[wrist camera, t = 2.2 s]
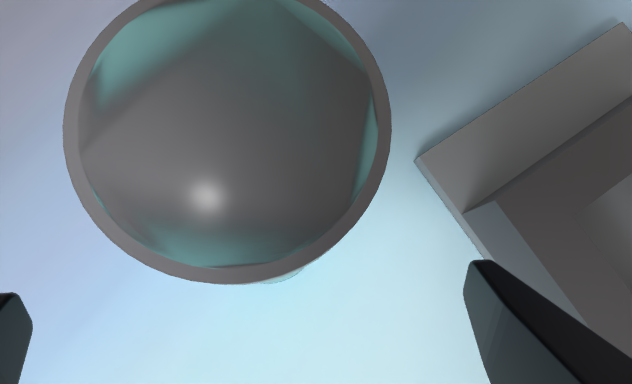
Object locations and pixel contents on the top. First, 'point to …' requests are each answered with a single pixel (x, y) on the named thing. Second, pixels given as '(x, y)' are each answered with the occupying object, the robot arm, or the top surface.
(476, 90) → the top surface
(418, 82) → the top surface
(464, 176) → the holder board
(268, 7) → the teal cylinder
